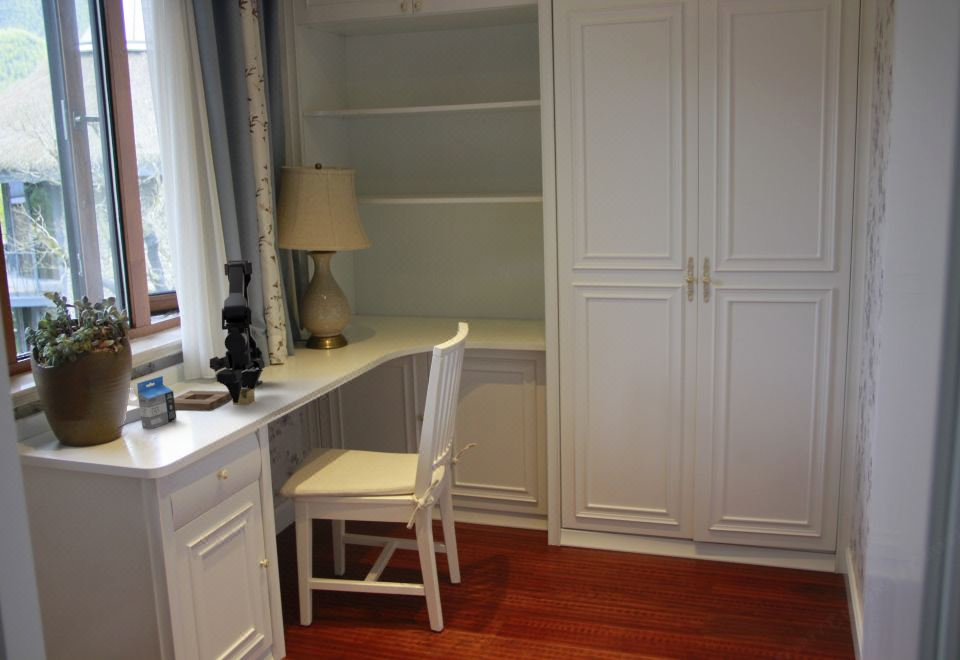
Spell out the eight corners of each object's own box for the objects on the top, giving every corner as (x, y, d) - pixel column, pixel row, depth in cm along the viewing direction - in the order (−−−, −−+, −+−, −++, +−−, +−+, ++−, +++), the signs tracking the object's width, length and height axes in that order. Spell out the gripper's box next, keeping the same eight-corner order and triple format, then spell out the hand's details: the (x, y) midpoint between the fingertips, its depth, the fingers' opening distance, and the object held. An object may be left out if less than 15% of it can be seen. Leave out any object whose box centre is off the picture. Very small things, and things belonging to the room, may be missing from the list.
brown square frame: (191, 396, 262) (190, 390, 262) (233, 397, 259) (232, 391, 259) (165, 409, 249) (164, 402, 248) (209, 410, 246) (208, 403, 245)
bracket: (133, 413, 246) (130, 388, 245) (150, 416, 243) (147, 390, 241) (94, 426, 235) (90, 399, 233) (111, 429, 231) (108, 401, 230)
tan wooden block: (239, 401, 255) (238, 388, 255) (254, 401, 254) (253, 388, 254) (232, 404, 252) (231, 391, 251) (248, 405, 250) (247, 391, 250)
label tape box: (151, 429, 229) (147, 384, 227) (141, 427, 231) (136, 383, 228) (177, 420, 237) (172, 376, 234) (166, 419, 238) (162, 375, 236)
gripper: (229, 339, 261) (233, 390, 263) (196, 352, 243) (201, 406, 245) (263, 340, 258) (267, 390, 261) (233, 353, 240) (237, 407, 243)
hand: (243, 398), depth 253 cm, fingers open, 9 cm apart
